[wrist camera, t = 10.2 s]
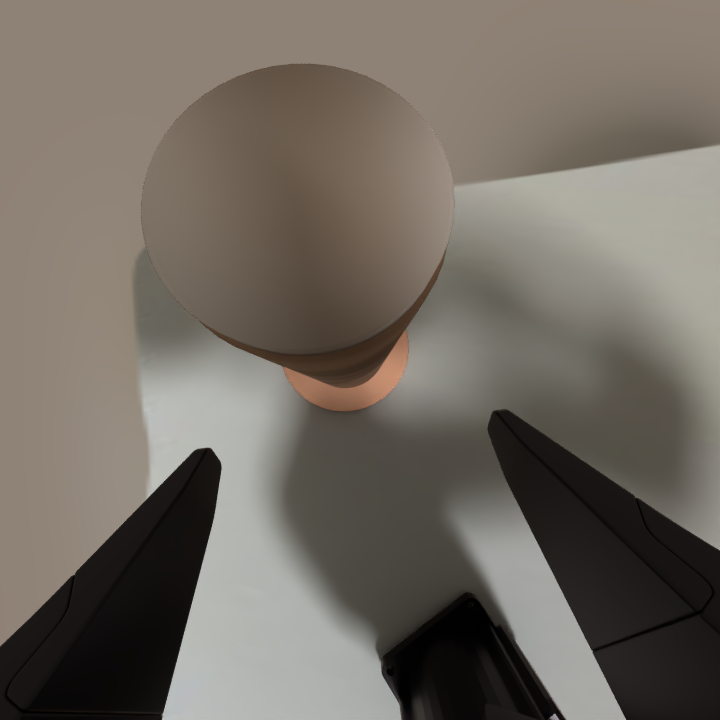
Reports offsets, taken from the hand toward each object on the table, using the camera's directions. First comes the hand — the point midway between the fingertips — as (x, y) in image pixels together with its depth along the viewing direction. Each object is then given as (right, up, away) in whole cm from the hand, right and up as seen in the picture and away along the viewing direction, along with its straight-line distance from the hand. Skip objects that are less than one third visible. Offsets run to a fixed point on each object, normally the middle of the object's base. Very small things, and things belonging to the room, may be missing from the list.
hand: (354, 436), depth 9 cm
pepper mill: (-1, +3, +8) cm, 9 cm away
